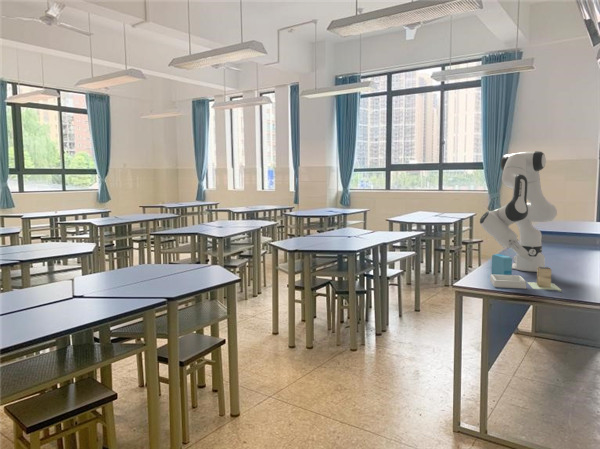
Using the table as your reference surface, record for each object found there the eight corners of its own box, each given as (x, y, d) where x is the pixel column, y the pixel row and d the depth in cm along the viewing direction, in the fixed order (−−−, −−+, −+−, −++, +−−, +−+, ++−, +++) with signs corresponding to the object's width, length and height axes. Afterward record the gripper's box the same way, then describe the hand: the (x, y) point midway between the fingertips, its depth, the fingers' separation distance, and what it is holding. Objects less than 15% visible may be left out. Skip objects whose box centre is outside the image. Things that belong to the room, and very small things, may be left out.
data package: (511, 280, 227) (512, 257, 226) (503, 280, 226) (504, 257, 225) (499, 275, 239) (499, 253, 237) (491, 275, 238) (491, 254, 237)
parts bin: (490, 282, 223) (490, 274, 223) (520, 283, 219) (520, 275, 219) (494, 288, 210) (494, 280, 209) (526, 290, 206) (526, 281, 205)
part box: (536, 284, 213) (537, 266, 212) (547, 284, 212) (548, 266, 211) (539, 286, 208) (539, 268, 207) (550, 287, 207) (551, 268, 206)
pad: (526, 283, 218) (526, 282, 218) (553, 284, 215) (553, 283, 215) (533, 290, 205) (533, 288, 205) (561, 291, 201) (561, 290, 201)
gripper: (517, 237, 201) (539, 258, 200) (509, 232, 221) (529, 251, 219) (506, 246, 203) (528, 267, 201) (499, 240, 223) (519, 260, 221)
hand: (529, 259), depth 210 cm, fingers open, 8 cm apart
